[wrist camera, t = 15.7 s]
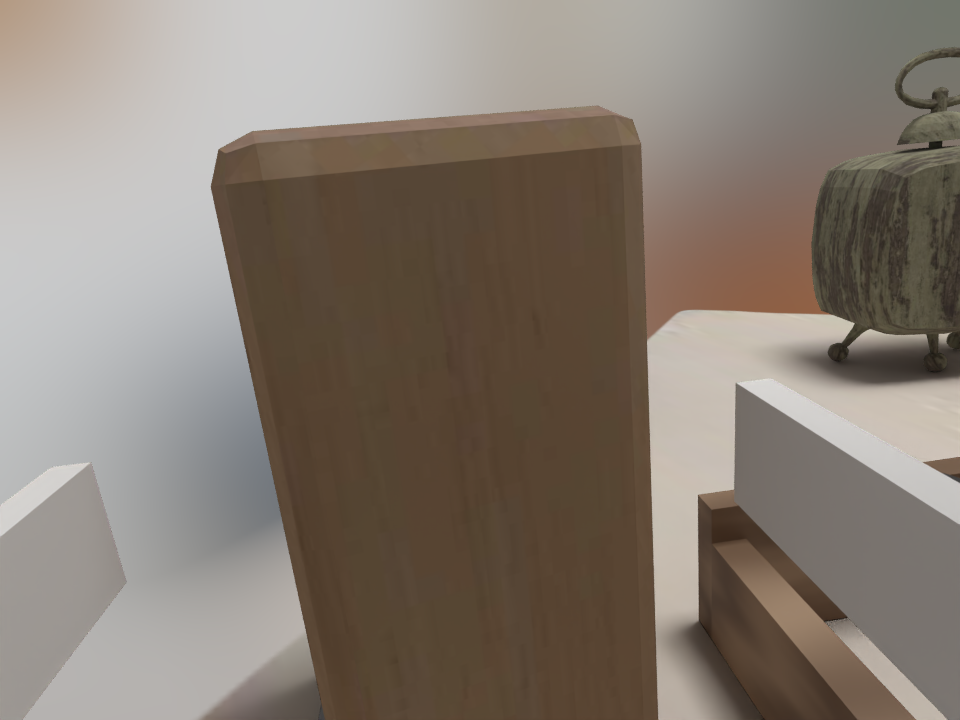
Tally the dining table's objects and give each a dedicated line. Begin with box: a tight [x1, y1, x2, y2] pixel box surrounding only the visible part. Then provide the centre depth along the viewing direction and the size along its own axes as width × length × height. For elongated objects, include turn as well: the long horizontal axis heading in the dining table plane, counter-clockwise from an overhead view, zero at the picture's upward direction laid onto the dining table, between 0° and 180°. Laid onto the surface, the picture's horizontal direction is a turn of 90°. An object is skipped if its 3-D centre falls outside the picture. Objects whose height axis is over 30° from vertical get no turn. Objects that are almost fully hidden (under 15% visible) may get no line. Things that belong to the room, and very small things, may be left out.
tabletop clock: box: [812, 47, 960, 372], centre depth 50 cm, size 14×9×25 cm, turn 90°
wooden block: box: [211, 106, 658, 720], centre depth 20 cm, size 10×10×20 cm
